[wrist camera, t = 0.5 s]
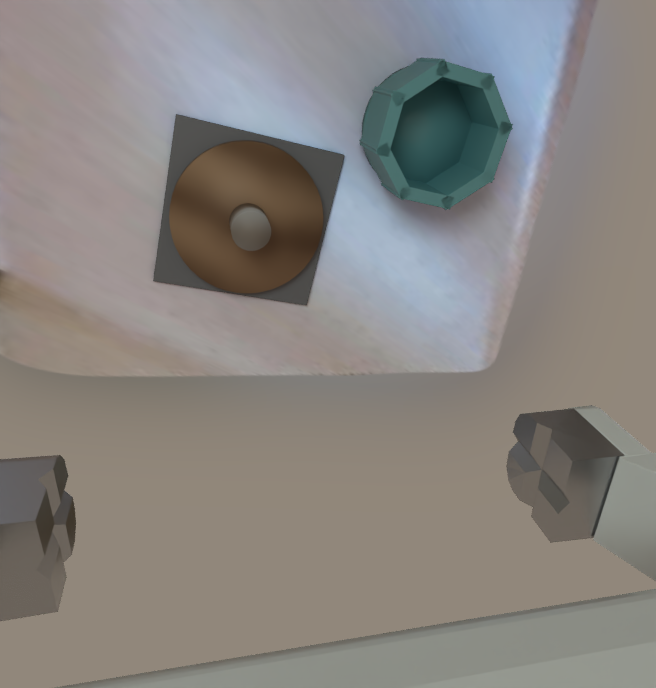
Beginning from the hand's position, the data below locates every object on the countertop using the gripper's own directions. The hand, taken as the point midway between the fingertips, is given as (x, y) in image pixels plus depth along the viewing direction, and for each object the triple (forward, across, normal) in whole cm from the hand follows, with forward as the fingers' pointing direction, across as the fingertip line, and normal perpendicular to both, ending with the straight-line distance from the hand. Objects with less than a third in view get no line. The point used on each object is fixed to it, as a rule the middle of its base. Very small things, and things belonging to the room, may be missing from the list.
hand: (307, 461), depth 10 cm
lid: (+42, -2, +6) cm, 42 cm away
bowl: (+42, -17, -1) cm, 46 cm away
